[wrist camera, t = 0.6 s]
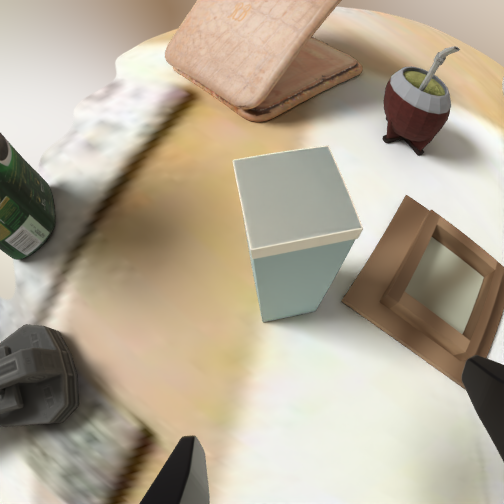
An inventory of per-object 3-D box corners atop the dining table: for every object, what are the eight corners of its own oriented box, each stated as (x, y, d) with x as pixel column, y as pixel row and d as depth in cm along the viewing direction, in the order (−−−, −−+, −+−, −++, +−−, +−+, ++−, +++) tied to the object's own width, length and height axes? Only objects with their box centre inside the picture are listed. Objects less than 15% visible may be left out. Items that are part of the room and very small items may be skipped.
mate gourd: (405, 111, 31) (438, 8, 17) (446, 157, 28) (500, 52, 14) (359, 121, 30) (385, 2, 17) (402, 173, 27) (457, 48, 14)
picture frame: (508, 279, 22) (523, 269, 20) (467, 391, 18) (484, 389, 16) (404, 198, 26) (413, 182, 24) (341, 301, 23) (348, 291, 20)
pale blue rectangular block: (316, 311, 22) (363, 228, 11) (262, 322, 22) (250, 250, 10) (303, 261, 24) (328, 145, 12) (252, 272, 24) (232, 160, 12)
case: (163, 70, 38) (136, -22, 23) (272, 26, 42) (269, -53, 27) (251, 136, 31) (237, -6, 16) (369, 75, 35) (389, -24, 20)
